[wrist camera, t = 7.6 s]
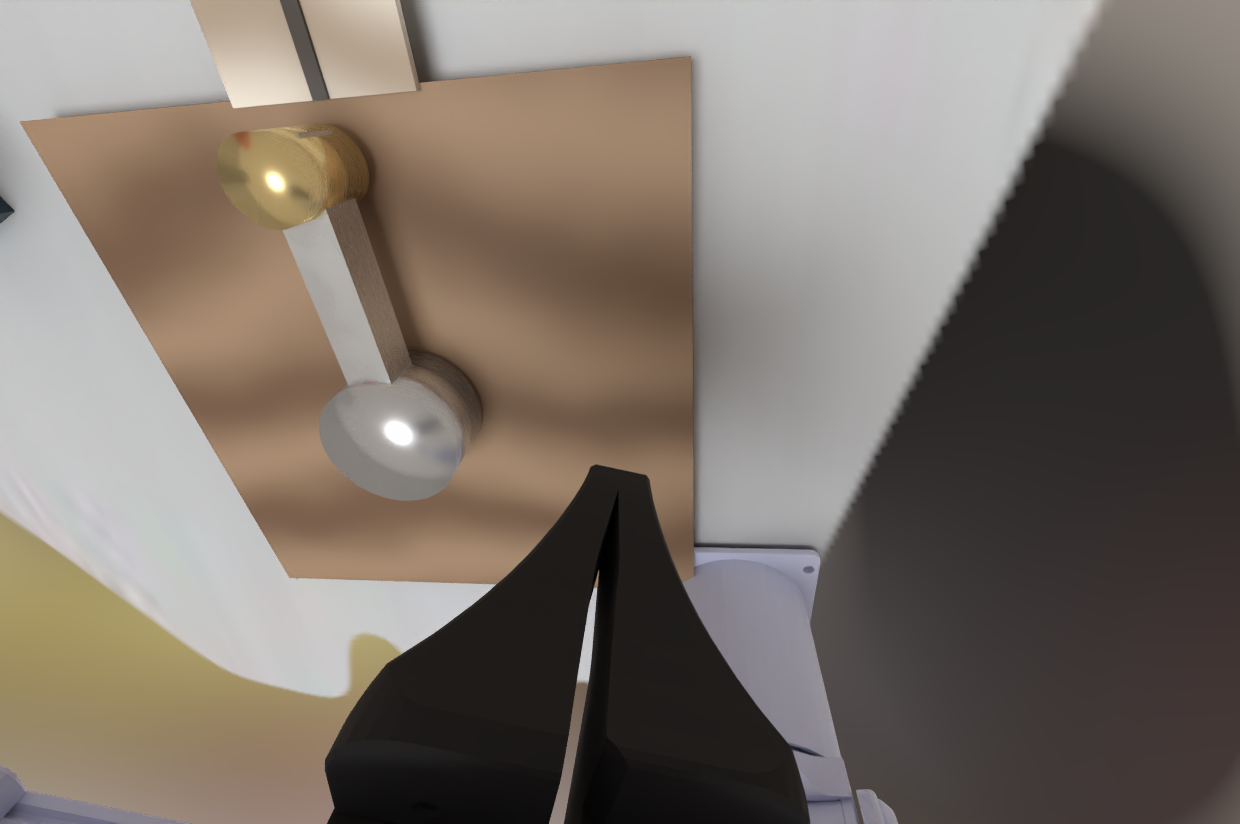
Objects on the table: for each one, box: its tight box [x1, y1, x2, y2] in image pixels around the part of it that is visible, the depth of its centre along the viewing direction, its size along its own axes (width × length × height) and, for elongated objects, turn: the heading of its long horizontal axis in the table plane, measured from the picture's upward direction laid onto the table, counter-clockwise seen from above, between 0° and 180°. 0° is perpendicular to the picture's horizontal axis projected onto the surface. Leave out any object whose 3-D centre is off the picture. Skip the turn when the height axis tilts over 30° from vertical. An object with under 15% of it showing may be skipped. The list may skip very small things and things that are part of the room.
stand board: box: [20, 0, 694, 587], centre depth 21 cm, size 25×22×2 cm
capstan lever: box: [216, 124, 482, 501], centre depth 18 cm, size 13×5×4 cm, turn 6°
